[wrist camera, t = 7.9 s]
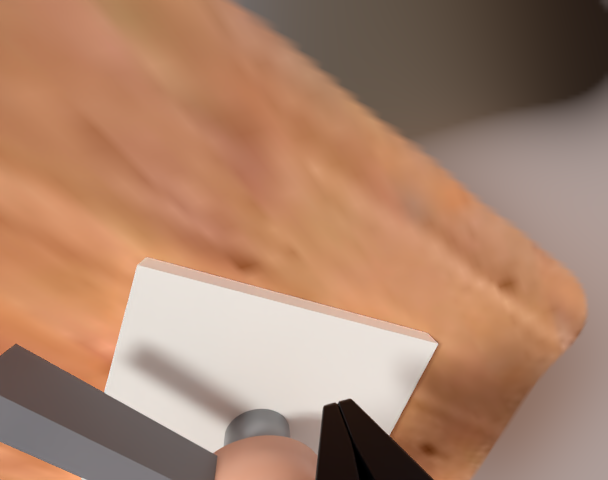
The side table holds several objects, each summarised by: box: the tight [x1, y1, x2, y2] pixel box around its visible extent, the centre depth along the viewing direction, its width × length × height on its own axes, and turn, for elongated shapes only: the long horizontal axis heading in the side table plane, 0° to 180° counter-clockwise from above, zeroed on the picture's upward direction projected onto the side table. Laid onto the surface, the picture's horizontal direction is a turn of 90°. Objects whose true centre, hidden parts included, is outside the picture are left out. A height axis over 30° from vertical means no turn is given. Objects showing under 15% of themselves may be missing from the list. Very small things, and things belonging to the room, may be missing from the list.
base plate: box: [81, 257, 438, 480], centre depth 17 cm, size 18×18×4 cm
